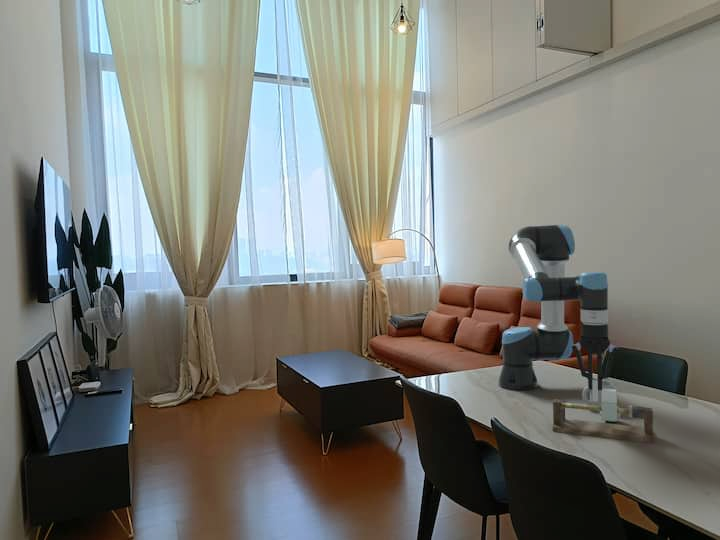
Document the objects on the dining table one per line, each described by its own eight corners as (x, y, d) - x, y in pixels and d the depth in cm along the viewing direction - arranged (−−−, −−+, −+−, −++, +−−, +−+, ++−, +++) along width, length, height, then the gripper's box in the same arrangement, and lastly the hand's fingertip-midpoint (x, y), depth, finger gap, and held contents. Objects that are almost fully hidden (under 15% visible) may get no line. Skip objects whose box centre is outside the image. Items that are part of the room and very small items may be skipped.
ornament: (624, 424, 157) (623, 393, 156) (599, 424, 158) (598, 393, 157) (616, 418, 163) (615, 387, 162) (592, 418, 164) (592, 388, 163)
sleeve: (601, 419, 149) (601, 391, 149) (601, 414, 154) (601, 387, 154) (616, 421, 148) (616, 392, 147) (616, 415, 152) (616, 388, 152)
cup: (616, 412, 169) (616, 385, 168) (586, 412, 170) (585, 386, 169) (608, 405, 176) (607, 380, 175) (578, 405, 177) (578, 380, 176)
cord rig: (552, 431, 154) (552, 402, 153) (555, 421, 162) (554, 394, 161) (654, 443, 142) (653, 412, 142) (651, 432, 150) (650, 403, 150)
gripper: (570, 324, 151) (571, 401, 152) (618, 325, 145) (619, 406, 146) (571, 320, 157) (572, 394, 158) (618, 322, 152) (619, 398, 153)
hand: (595, 400), depth 152 cm, fingers closed
